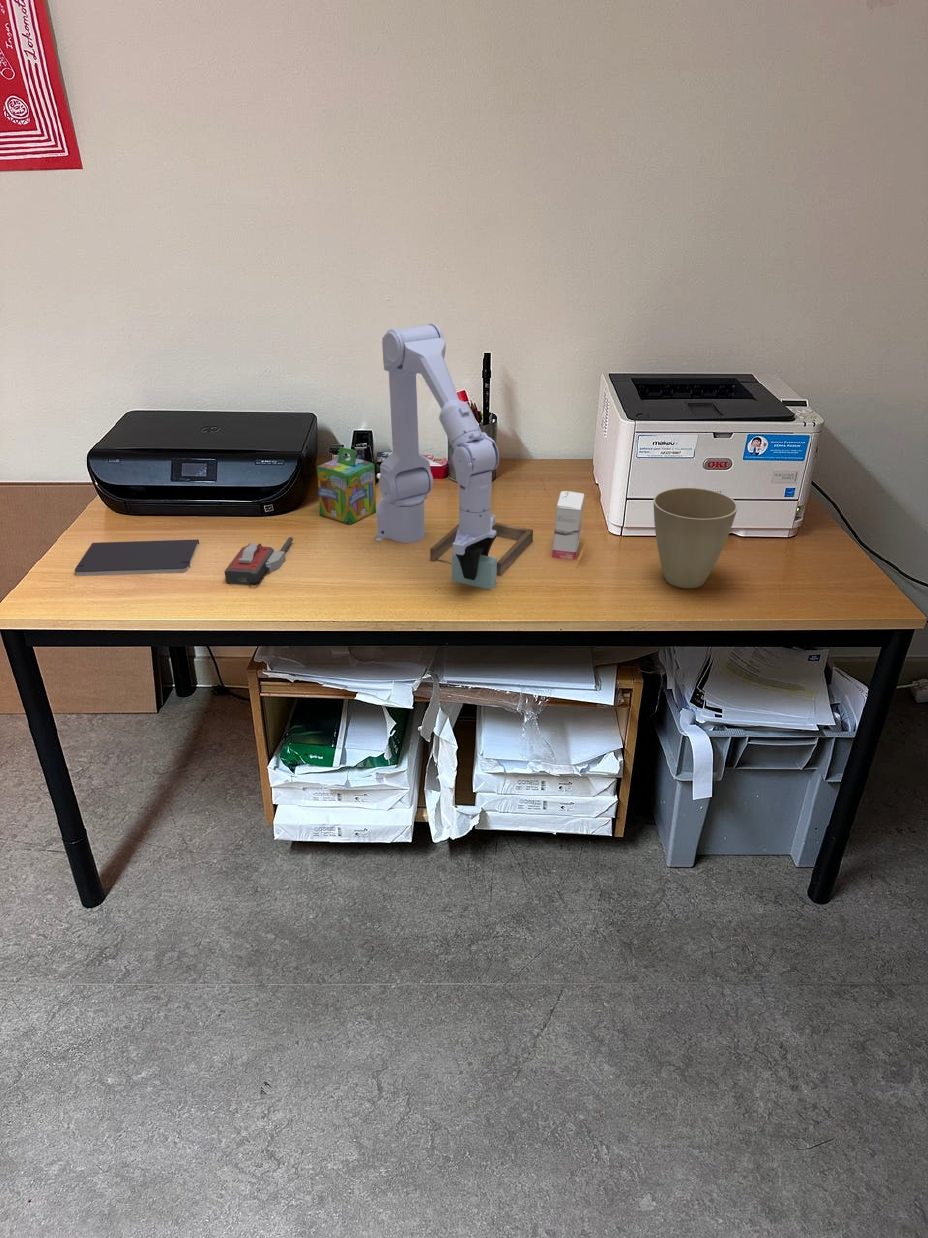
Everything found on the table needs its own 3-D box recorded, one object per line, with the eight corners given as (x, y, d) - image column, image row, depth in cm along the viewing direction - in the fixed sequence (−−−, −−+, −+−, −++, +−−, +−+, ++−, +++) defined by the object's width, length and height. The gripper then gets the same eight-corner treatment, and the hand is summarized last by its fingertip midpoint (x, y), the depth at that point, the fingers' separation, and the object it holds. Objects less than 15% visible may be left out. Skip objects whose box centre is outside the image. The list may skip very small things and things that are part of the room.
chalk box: (319, 515, 189) (313, 451, 182) (346, 502, 196) (342, 439, 188) (350, 526, 185) (346, 460, 177) (378, 512, 191) (374, 448, 184)
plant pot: (702, 558, 172) (714, 483, 164) (737, 594, 160) (753, 515, 151) (632, 565, 169) (641, 490, 161) (662, 602, 157) (674, 522, 149)
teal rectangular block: (452, 583, 162) (452, 555, 159) (457, 578, 164) (457, 549, 160) (491, 592, 159) (491, 563, 156) (496, 586, 161) (497, 558, 158)
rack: (430, 564, 169) (430, 548, 167) (466, 532, 182) (466, 516, 181) (500, 580, 164) (501, 563, 162) (532, 545, 177) (533, 529, 175)
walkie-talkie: (267, 590, 161) (297, 544, 178) (264, 569, 158) (294, 524, 175) (221, 588, 161) (255, 542, 178) (218, 567, 159) (253, 522, 176)
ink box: (576, 564, 170) (581, 508, 164) (551, 561, 171) (554, 506, 165) (580, 545, 177) (584, 491, 171) (556, 543, 178) (559, 489, 172)
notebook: (199, 546, 177) (93, 549, 176) (198, 539, 176) (92, 542, 175) (188, 574, 166) (74, 578, 165) (186, 567, 165) (72, 571, 164)
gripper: (478, 525, 146) (477, 595, 153) (511, 495, 157) (508, 561, 164) (441, 518, 148) (442, 587, 155) (475, 489, 160) (475, 554, 167)
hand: (474, 573), depth 160 cm, fingers open, 3 cm apart
